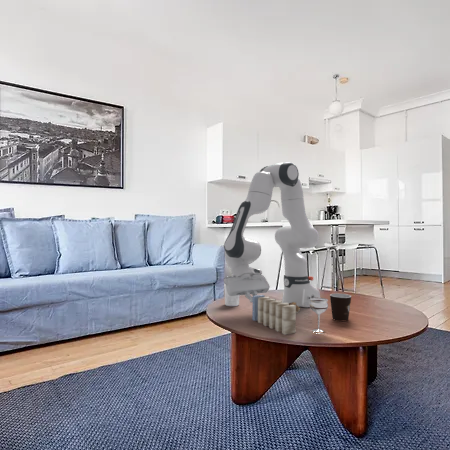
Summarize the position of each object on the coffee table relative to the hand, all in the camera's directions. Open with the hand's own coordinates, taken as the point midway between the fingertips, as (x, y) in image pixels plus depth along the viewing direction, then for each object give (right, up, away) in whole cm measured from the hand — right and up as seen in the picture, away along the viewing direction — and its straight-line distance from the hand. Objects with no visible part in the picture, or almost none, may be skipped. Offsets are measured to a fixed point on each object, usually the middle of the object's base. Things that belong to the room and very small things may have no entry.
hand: (254, 301), depth 148 cm
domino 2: (+3, -7, -6) cm, 10 cm away
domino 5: (+9, -7, -17) cm, 20 cm away
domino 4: (+7, -7, -13) cm, 17 cm away
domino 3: (+5, -7, -10) cm, 13 cm away
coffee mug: (+38, -7, 0) cm, 38 cm away
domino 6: (+11, -7, -20) cm, 24 cm away
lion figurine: (+14, -7, -5) cm, 16 cm away
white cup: (-9, -7, +23) cm, 26 cm away
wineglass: (+23, -7, -18) cm, 30 cm away
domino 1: (+2, -7, -3) cm, 8 cm away
